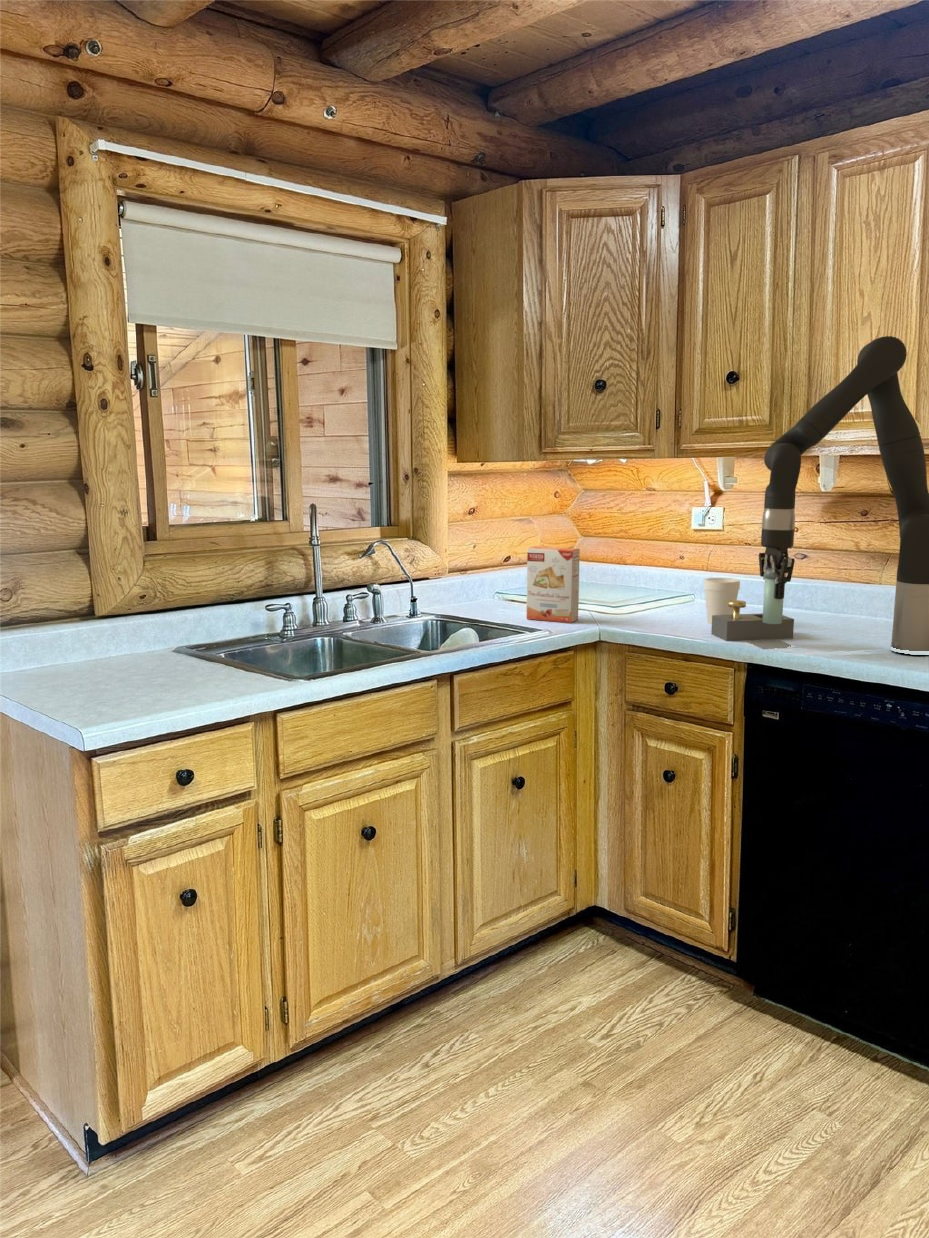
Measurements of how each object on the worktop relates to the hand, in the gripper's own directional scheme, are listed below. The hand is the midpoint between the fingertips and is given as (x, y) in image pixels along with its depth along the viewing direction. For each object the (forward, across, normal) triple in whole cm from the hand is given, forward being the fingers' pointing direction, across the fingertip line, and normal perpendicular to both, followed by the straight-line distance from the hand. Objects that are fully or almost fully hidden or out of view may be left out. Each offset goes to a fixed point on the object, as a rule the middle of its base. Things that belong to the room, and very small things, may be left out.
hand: (773, 596), depth 234 cm
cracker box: (+13, +47, +43) cm, 65 cm away
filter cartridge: (+6, 0, 0) cm, 6 cm away
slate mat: (+13, 0, 0) cm, 13 cm away
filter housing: (+13, +10, 0) cm, 17 cm away
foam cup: (+13, +29, 0) cm, 32 cm away
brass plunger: (+12, +10, +5) cm, 16 cm away
